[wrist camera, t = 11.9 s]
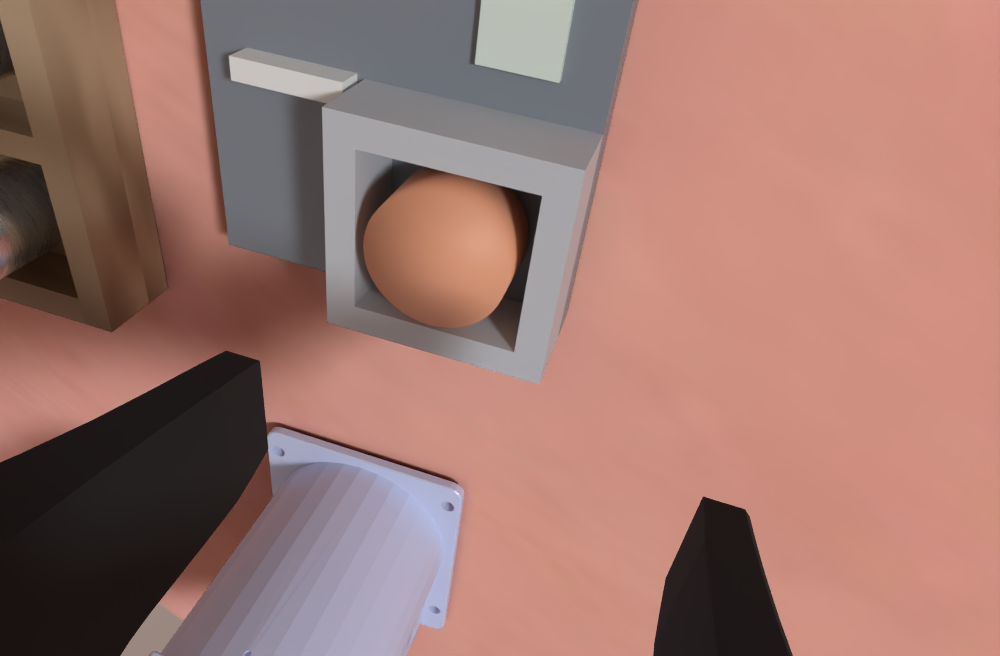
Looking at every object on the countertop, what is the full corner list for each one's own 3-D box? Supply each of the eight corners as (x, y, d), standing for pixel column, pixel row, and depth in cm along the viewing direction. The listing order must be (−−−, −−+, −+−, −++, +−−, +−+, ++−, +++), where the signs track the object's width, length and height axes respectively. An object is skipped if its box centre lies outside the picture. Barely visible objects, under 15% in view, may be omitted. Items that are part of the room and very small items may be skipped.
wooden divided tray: (167, 288, 25) (112, 332, 23) (15, 243, 26) (-53, 281, 24) (95, -101, 18) (5, -90, 16) (-112, -143, 19) (-224, -139, 17)
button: (518, 301, 19) (496, 344, 18) (393, 267, 20) (362, 305, 18) (539, 179, 17) (517, 215, 16) (399, 144, 18) (363, 176, 16)
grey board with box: (566, 314, 21) (539, 384, 18) (250, 227, 23) (183, 280, 20) (665, -120, 15) (645, -108, 12) (210, -200, 16) (102, -204, 13)
